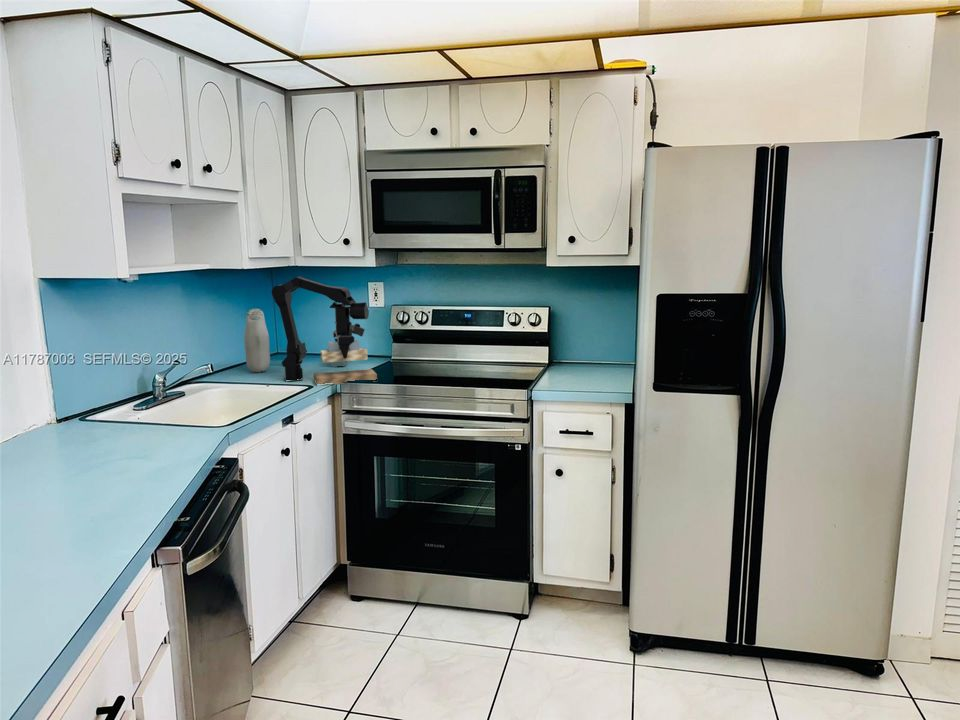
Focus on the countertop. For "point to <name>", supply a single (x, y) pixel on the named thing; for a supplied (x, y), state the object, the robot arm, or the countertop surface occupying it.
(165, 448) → the countertop surface
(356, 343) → the crate
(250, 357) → the grey bottle
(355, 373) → the dock
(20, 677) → the countertop surface
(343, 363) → the flower pot
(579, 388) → the countertop surface
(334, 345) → the crate
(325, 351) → the light wooden block
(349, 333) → the robot arm
